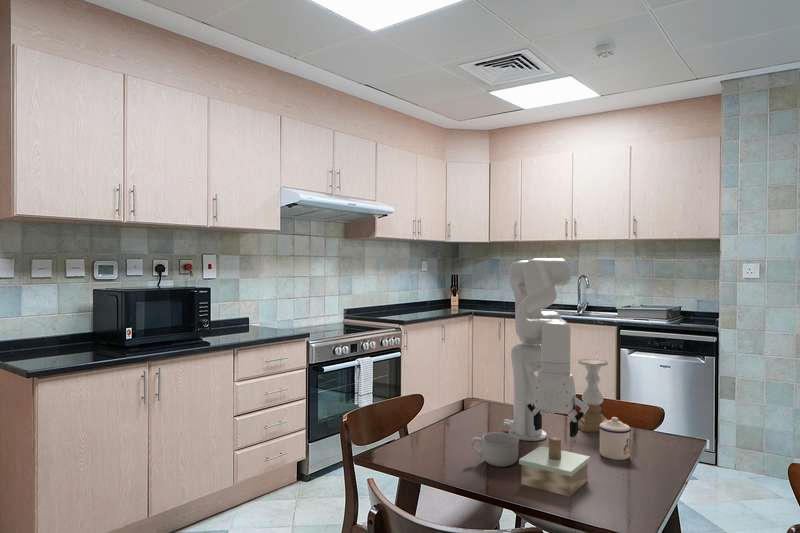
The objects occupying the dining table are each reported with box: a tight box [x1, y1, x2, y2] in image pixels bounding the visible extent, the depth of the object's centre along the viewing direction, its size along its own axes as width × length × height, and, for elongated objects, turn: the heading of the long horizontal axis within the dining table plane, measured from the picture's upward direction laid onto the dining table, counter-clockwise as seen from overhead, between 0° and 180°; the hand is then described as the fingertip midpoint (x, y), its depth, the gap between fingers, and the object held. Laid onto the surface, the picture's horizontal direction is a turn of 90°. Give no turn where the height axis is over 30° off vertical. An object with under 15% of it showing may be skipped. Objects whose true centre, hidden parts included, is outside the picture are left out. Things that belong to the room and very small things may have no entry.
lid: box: [518, 436, 591, 477], centre depth 149 cm, size 14×14×6 cm
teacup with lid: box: [599, 416, 631, 461], centre depth 173 cm, size 12×9×12 cm
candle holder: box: [577, 358, 610, 433], centre depth 202 cm, size 11×11×24 cm
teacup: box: [470, 431, 520, 468], centre depth 164 cm, size 14×11×8 cm
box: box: [520, 462, 589, 498], centre depth 149 cm, size 13×13×6 cm
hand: (555, 432), depth 148 cm, fingers open, 9 cm apart
